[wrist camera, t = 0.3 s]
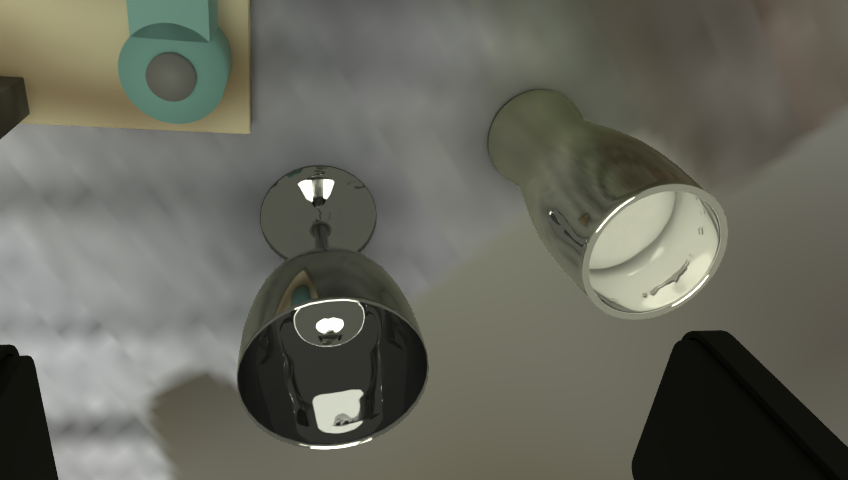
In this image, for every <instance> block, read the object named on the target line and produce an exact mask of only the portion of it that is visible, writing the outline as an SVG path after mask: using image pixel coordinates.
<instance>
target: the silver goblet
mask: <svg viewBox="0 0 848 480" xmlns="http://www.w3.org/2000/svg"><path fill="white" fill-rule="evenodd" d="M260 223H261V228H262V232H263V235H264V237H265V239H266V241H267V243H268V244H269V245H270V247H271V248H272V249H273V250H274V251H275V252H276V253H277V254H278V255H279V256H280V257H282V258H283V259H285V260H286V261H285V262H283V263H282V264H281V265H279V266H278V267H277V268H276V269H275V270H274V271H273V273H272V274H271V275H270V276H269V277H268V278H267V279H266V280H265V282H264V284H263V285H262V287H261V288H260V290H259V292H258V294H257V295H256V297H255V299H254V301H253V304H252V306H251V309H250V311H249V314H248V317H247V320H246V322H245V325H244V329H243V334H242V340H241V345H240V351H239V358H238V368H237V387H238V394H239V398H240V401H241V404H242V406H243V408H244V409H245V411H246V413H247V415H248V416H249V417H250V418H251V419H252V421H253V422H254V423H255V424H256V425H257V426H258V427H259V428H261V429H262V430H263V431H265V432H266V433H267V434H269V435H270V436H272V437H274V438H276V439H278V440H280V441H283V442H286V443H289V444H292V445H295V446H299V447H305V448H311V449H334V448H344V447H348V446H353V445H358V444H360V443H363V442H366V441H369V440H372V439H374V438H376V437H378V436H380V435H382V434H384V433H386V432H388V431H389V430H390V429H392V428H393V427H395V426H396V425H398V424H399V423H400V422H401V421H402V420H403V419H404V418H406V417H407V416H408V415H409V413H410V412H411V411H412V410H413V409H414V407H415V406H416V405H417V403H418V401H419V400H420V398H421V396H422V394H423V392H424V389H425V386H426V383H427V380H428V371H429V365H428V356H427V351H426V347H425V344H424V340H423V337H422V334H421V331H420V328H419V325H418V323H417V320H416V318H415V315H414V312H413V310H412V308H411V306H410V304H409V303H408V301H407V299H406V298H405V296H404V294H403V293H402V291H401V289H400V288H399V286H398V285H397V283H396V282H395V281H394V280H393V279H392V277H391V276H390V275H389V274H388V273H387V272H386V271H385V270H384V269H383V267H381V266H380V265H378V264H377V263H376V262H374V261H373V260H372V259H370V258H369V257H367V256H365V255H363V254H361V253H360V252H361V251H362V250H363V249H364V248H365V246H366V245H367V244H368V242H369V241H370V239H371V237H372V235H373V232H374V229H375V225H376V208H375V203H374V201H373V198H372V196H371V194H370V192H369V191H368V189H367V188H366V187H365V185H364V184H363V183H362V182H361V181H360V180H358V179H357V178H356V177H355V176H353V175H352V174H350V173H348V172H346V171H344V170H341V169H338V168H335V167H329V166H309V167H303V168H300V169H297V170H294V171H292V172H290V173H288V174H286V175H285V176H283V177H282V178H281V179H279V180H278V181H277V182H276V183H275V184H274V185H273V186H272V187H271V188H270V190H269V191H268V193H267V195H266V196H265V198H264V201H263V204H262V207H261V213H260Z"/></svg>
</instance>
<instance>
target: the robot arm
mask: <svg viewBox="0 0 848 480" xmlns="http://www.w3.org/2000/svg"><path fill="white" fill-rule="evenodd" d="M632 474H633V478H634V480H848V447H847V446H846V445H845V444H844V443H843V442H842V441H840V439H839V438H838V437H837V436H836V435H834V434H833V433H832V432H831V431H830V430H829V429H828V428H827V427H826V426H825V425H824V424H823V423H822V422H821V421H820V420H819V419H818V418H817V417H816V416H815V415H814V414H813V413H812V412H811V411H810V410H809V409H808V408H807V407H806V406H805V405H803V404H802V403H801V402H800V401H799V400H798V399H797V398H796V397H795V396H794V395H793V394H792V393H791V392H790V391H789V390H788V389H787V388H786V387H785V386H784V385H783V384H782V383H781V382H780V381H779V380H778V379H777V378H775V376H774V375H773V374H772V373H771V372H769V371H768V370H767V369H766V368H765V367H764V366H763V365H762V364H761V363H760V362H759V361H758V360H757V359H756V358H755V357H754V356H753V355H752V354H751V353H750V352H749V351H748V350H747V349H746V348H745V347H744V346H743V345H741V344H740V342H739V341H737V340H736V339H735V338H734V337H733V336H732V335H731V334H729V333H728V332H726V331H722V330H718V331H691V332H688V333H686V334H685V335H684V336H683V338H682V340H681V341H678V342H677V343H676V344H675V345H674V347H673V350H672V352H671V355H670V358H669V361H668V363H667V366H666V369H665V372H664V374H663V377H662V380H661V383H660V385H659V388H658V391H657V394H656V396H655V399H654V402H653V405H652V408H651V410H650V413H649V416H648V419H647V421H646V424H645V427H644V429H643V432H642V435H641V438H640V440H639V443H638V446H637V449H636V451H635V454H634V457H633V460H632ZM0 480H58V476H57V471H56V466H55V461H54V456H53V451H52V446H51V441H50V437H49V432H48V427H47V422H46V417H45V412H44V407H43V402H42V398H41V393H40V388H39V383H38V378H37V373H36V368H35V364H34V361H33V359H32V358H31V356H19V353H18V350H17V349H16V347H15V346H13V345H0Z"/></svg>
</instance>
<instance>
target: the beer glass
mask: <svg viewBox="0 0 848 480" xmlns="http://www.w3.org/2000/svg"><path fill="white" fill-rule="evenodd" d="M488 150H489V155H490V158H491V161H492V163H493V165H494V166H495V168H496V169H497V170H498V171H499V172H500V173H501V174H502V175H503V176H504V177H505V178H507V179H508V180H510V181H511V182H513V183H515V184H516V185H518V186H519V188H520V190H521V193H522V195H523V198H524V201H525V204H526V207H527V210H528V213H529V216H530V218H531V221H532V223H533V225H534V227H535V229H536V231H537V233H538V235H539V238H540V239H541V241H542V242H543V244H544V245H545V247H546V249H547V250H548V251H549V253H550V254H551V256H552V257H553V258H554V260H555V261H556V262H557V264H558V265H559V266H560V267H561V268H562V269H563V271H564V272H565V273H566V274H567V275H568V276H569V277H570V278H571V280H572V281H574V283H575V284H576V285H577V286H578V287H579V288H580V289H581V290H582V291H583V292H584V293H585V294H586V295H587V296H588V298H589V299H590V301H591V302H592V303H593V304H594V305H595V306H596V307H597V308H598V309H600V310H601V311H603V312H604V313H606V314H608V315H610V316H613V317H616V318H620V319H627V320H642V319H648V318H653V317H657V316H660V315H663V314H665V313H668V312H670V311H672V310H674V309H676V308H678V307H680V306H681V305H683V304H685V303H686V302H687V301H689V300H690V299H691V298H693V297H694V296H695V295H696V294H697V293H699V292H700V291H701V290H702V289H703V288H704V287H705V285H706V284H707V283H708V282H709V281H710V279H711V278H712V277H713V275H714V274H715V272H716V271H717V269H718V267H719V265H720V263H721V261H722V259H723V257H724V254H725V250H726V247H727V242H728V223H727V219H726V215H725V212H724V210H723V208H722V206H721V205H720V203H719V202H718V201H717V200H716V199H715V198H714V197H713V196H712V195H711V194H710V193H708V192H707V191H705V190H704V189H703V188H702V187H700V186H699V185H698V184H697V183H696V182H695V181H694V180H693V179H692V178H691V177H690V176H689V175H687V174H686V173H685V172H684V171H683V170H682V169H681V168H679V167H678V166H677V165H676V164H675V163H673V162H672V161H671V160H669V159H668V158H667V157H666V156H664V155H663V154H662V153H660V152H659V151H657V150H655V149H654V148H652V147H651V146H649V145H647V144H646V143H644V142H642V141H640V140H638V139H636V138H634V137H631V136H629V135H627V134H624V133H622V132H619V131H616V130H613V129H610V128H607V127H604V126H601V125H597V124H594V123H591V122H588V121H586V120H585V119H584V118H583V117H582V115H581V113H580V112H579V110H578V109H577V107H576V106H575V105H574V104H573V103H572V102H571V101H570V100H569V99H568V98H567V97H565V96H564V95H562V94H560V93H558V92H555V91H551V90H532V91H528V92H525V93H522V94H520V95H518V96H516V97H515V98H513V99H512V100H510V101H509V102H508V103H507V104H505V105H504V106H503V108H502V109H501V110H500V111H499V112H498V114H497V115H496V117H495V119H494V120H493V123H492V125H491V128H490V131H489V136H488Z"/></svg>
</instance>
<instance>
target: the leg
mask: <svg viewBox="0 0 848 480" xmlns="http://www.w3.org/2000/svg"><path fill="white" fill-rule="evenodd" d="M126 3H127V14H128V24H129V34H130V37H129V38H128V39H127V40H126V42H125V43H124V45H123V47H122V49H121V51H120V55H119V59H118V74H119V79H120V82H121V85H122V87H123V89H124V91H125V93H126V95H127V96H128V98H129V99H130V100H131V102H132V103H133V104H134V105H135V106H136V107H137V108H138V109H140V110H141V111H142V112H143V113H145V114H147V115H148V116H150V117H152V118H154V119H156V120H159V121H162V122H166V123H172V124H185V123H191V122H195V121H198V120H200V119H202V118H204V117H206V116H207V115H208V114H210V113H211V112H212V111H213V110H214V109H215V108H216V107H217V105H218V104H219V102H220V100H221V98H222V96H223V93H224V90H225V86H226V83H227V80H228V77H229V74H230V71H231V66H232V53H231V48H230V45H229V42H228V40H227V38H226V36H225V34H224V33H223V31H222V30H221V29H220V28H219V26H218V0H126Z"/></svg>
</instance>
